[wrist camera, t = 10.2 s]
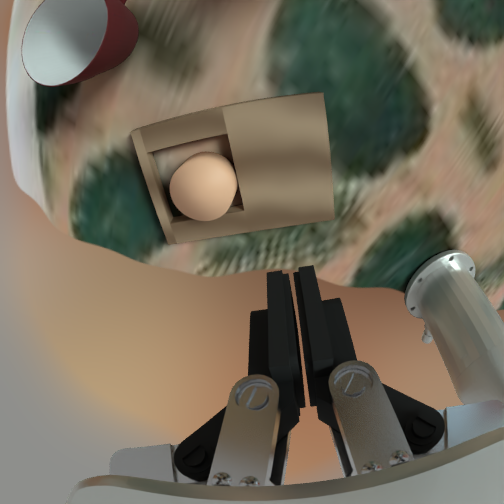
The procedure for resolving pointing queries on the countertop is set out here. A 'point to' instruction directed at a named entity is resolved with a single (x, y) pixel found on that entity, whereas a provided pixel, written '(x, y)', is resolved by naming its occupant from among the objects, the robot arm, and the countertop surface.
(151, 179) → the tan piece
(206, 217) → the tan round bun
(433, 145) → the countertop surface
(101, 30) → the mug
